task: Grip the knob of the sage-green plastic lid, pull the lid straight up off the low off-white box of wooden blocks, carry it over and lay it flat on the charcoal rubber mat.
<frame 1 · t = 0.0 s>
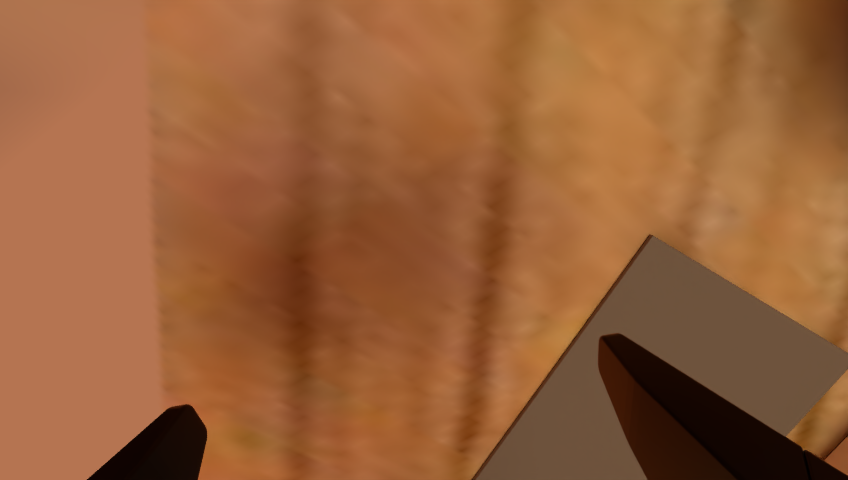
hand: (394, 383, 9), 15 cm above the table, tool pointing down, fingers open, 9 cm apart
mat: (644, 432, 28), on the table
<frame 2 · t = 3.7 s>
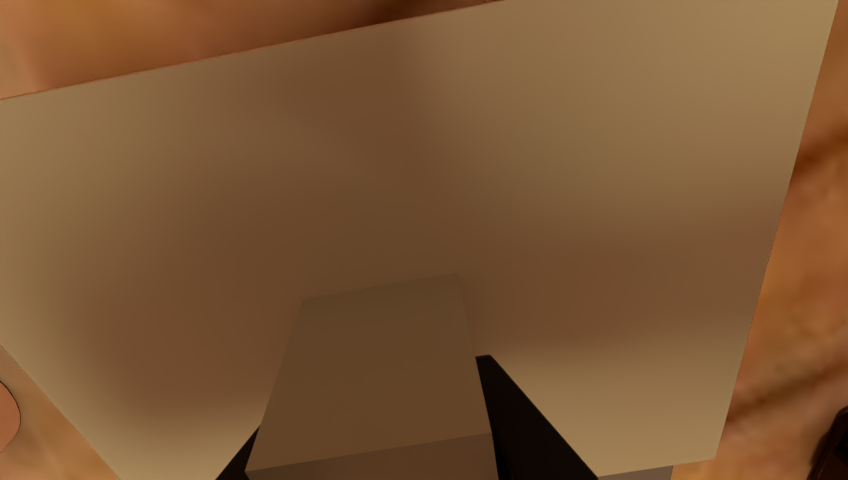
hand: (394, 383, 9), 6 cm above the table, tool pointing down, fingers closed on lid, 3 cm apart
lid: (395, 295, 12), point 3 cm above the table, touching box, gripper
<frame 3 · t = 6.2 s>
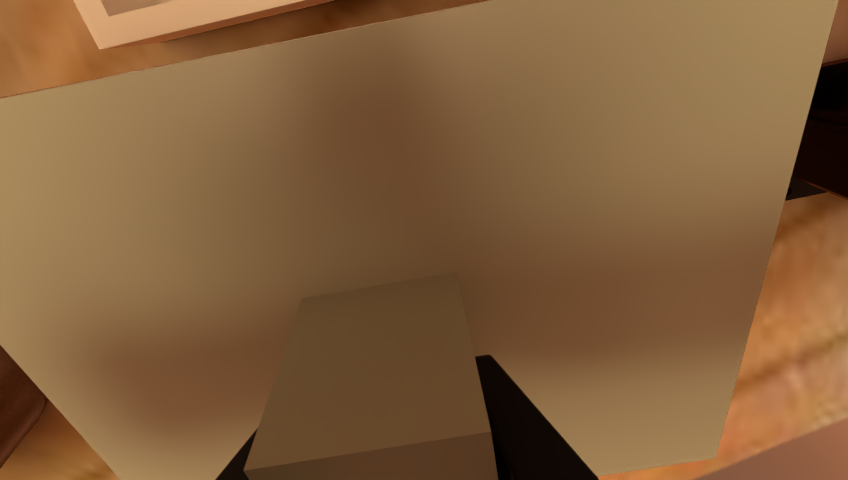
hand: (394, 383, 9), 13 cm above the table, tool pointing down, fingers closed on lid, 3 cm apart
lid: (395, 294, 12), point 10 cm above the table, touching gripper
when the fingers open (5 cm above the table, at t = 8.7 s): lid drops 1 cm, resting on mat.
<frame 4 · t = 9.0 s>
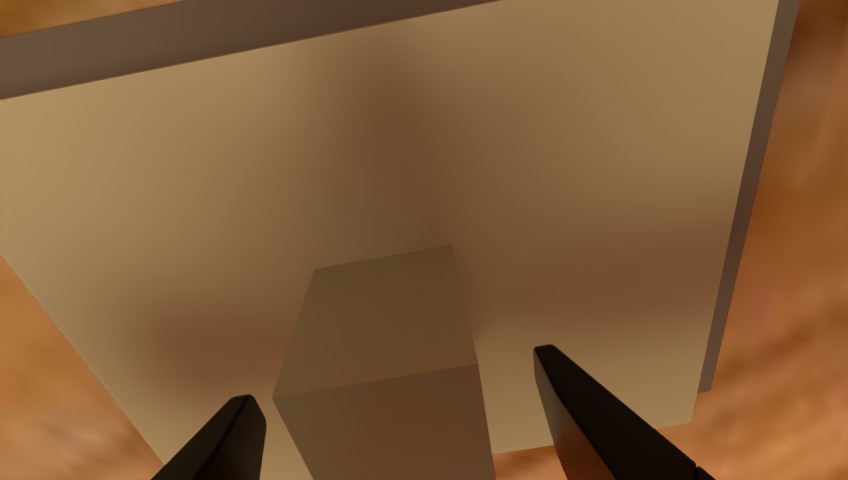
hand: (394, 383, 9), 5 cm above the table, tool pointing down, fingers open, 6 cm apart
mat: (395, 266, 13), on the table
lid: (397, 271, 13), resting on mat
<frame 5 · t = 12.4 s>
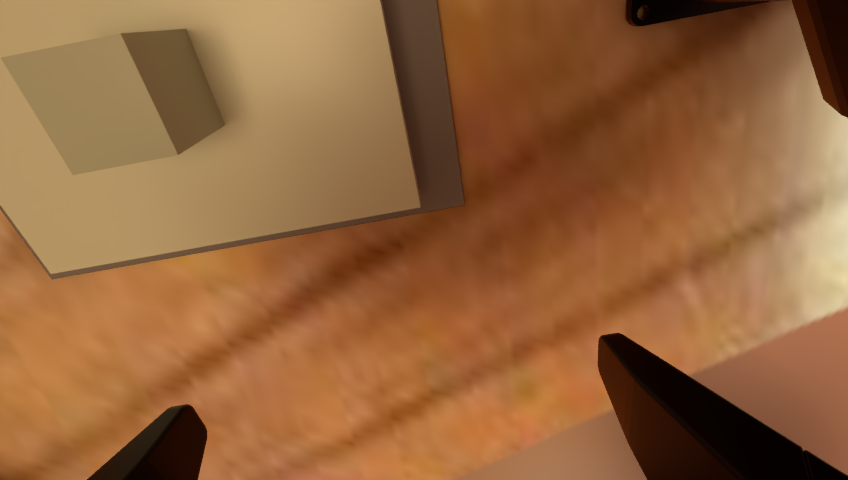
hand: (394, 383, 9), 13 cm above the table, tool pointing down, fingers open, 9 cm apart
mat: (188, 80, 18), on the table
lid: (186, 80, 18), resting on mat
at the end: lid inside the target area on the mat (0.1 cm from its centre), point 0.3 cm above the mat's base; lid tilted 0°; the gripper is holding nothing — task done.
